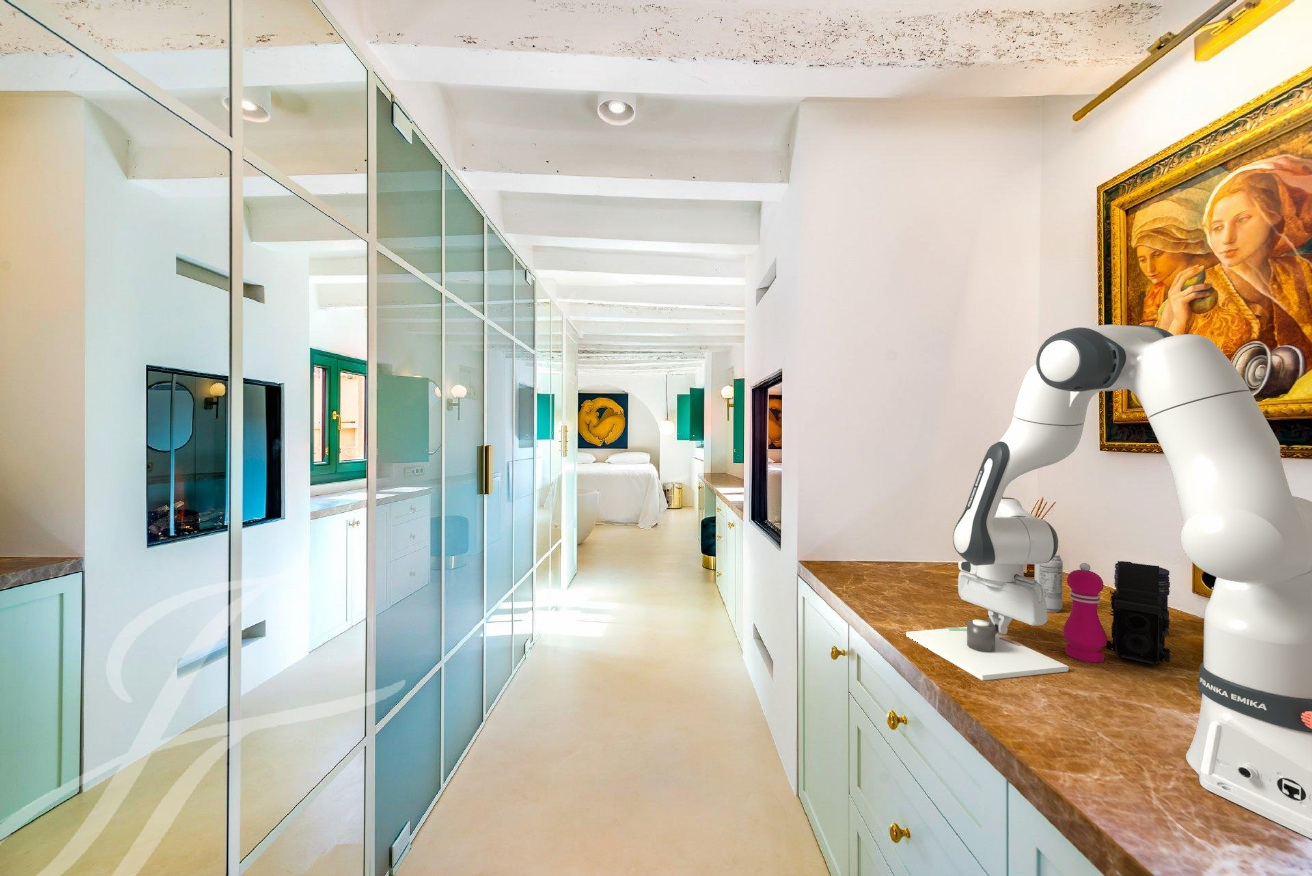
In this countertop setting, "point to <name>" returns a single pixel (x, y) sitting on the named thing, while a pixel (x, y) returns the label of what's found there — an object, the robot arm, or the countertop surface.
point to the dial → (981, 635)
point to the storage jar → (1163, 589)
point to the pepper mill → (1085, 616)
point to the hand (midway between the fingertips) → (1000, 632)
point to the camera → (1138, 615)
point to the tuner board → (986, 655)
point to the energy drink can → (1051, 582)
